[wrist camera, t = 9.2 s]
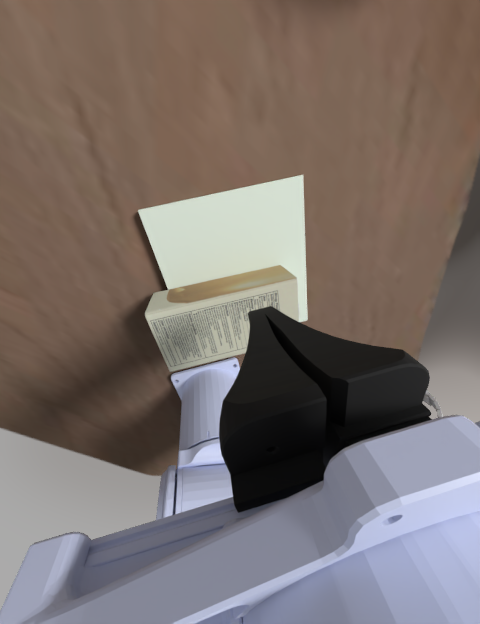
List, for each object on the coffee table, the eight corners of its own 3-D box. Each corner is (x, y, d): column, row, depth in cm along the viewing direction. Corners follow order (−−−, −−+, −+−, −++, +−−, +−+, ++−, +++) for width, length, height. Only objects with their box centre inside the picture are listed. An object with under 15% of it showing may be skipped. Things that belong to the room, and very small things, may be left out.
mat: (304, 316, 26) (307, 320, 25) (191, 345, 25) (191, 350, 24) (298, 175, 18) (303, 175, 18) (140, 209, 18) (137, 210, 17)
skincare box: (172, 344, 23) (284, 319, 24) (167, 374, 19) (301, 343, 20) (151, 288, 20) (281, 262, 21) (141, 310, 16) (300, 277, 17)
